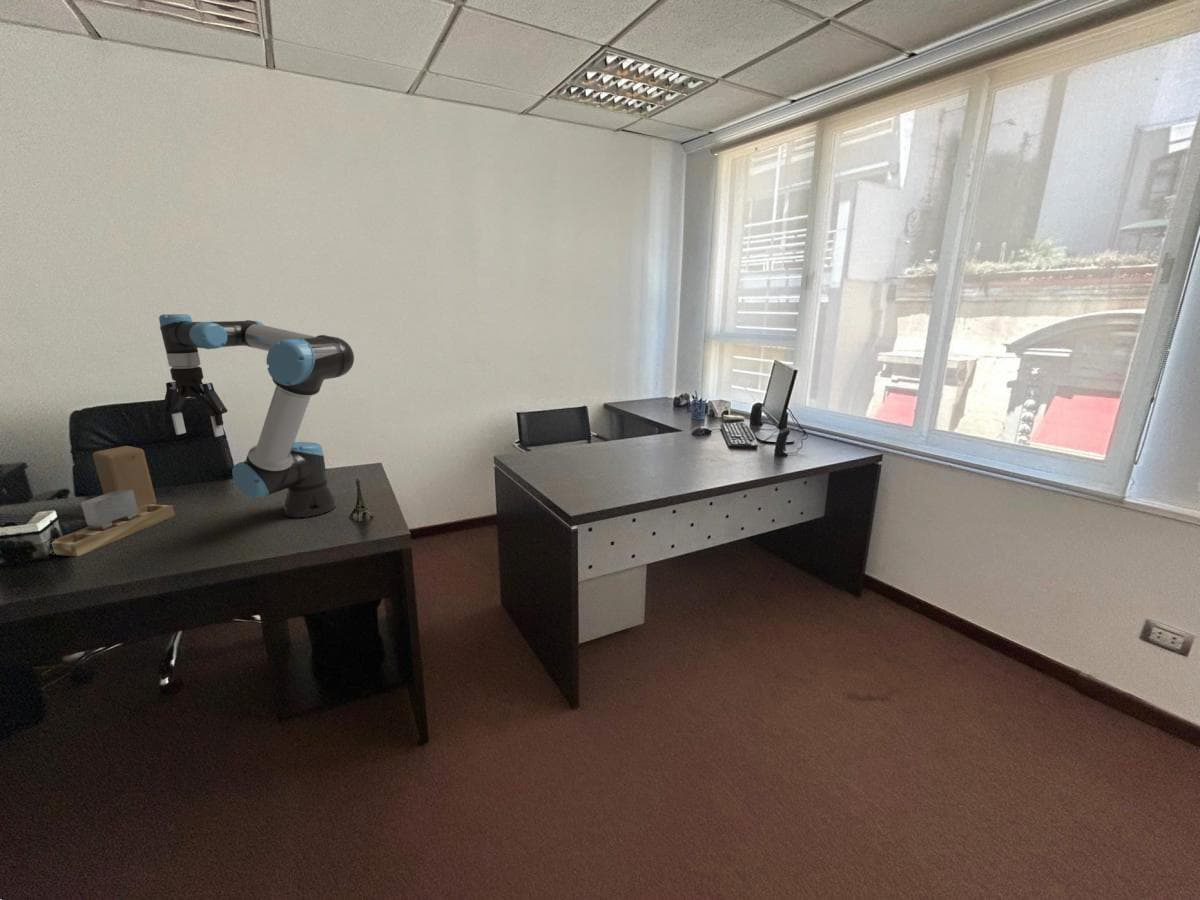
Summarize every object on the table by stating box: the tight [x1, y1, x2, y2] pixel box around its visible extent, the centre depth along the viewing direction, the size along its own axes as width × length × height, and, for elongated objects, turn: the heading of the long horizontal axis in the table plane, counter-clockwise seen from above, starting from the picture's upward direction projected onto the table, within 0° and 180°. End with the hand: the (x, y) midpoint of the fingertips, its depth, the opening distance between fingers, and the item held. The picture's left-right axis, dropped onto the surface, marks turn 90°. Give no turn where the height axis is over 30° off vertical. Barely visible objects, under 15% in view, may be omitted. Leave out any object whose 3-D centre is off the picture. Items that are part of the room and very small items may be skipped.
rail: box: [51, 503, 176, 557], centre depth 150 cm, size 9×28×4 cm, turn 172°
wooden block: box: [92, 445, 157, 508], centre depth 166 cm, size 10×10×20 cm
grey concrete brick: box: [80, 489, 138, 531], centre depth 148 cm, size 4×11×12 cm, turn 172°
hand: (200, 434), depth 158 cm, fingers open, 13 cm apart
